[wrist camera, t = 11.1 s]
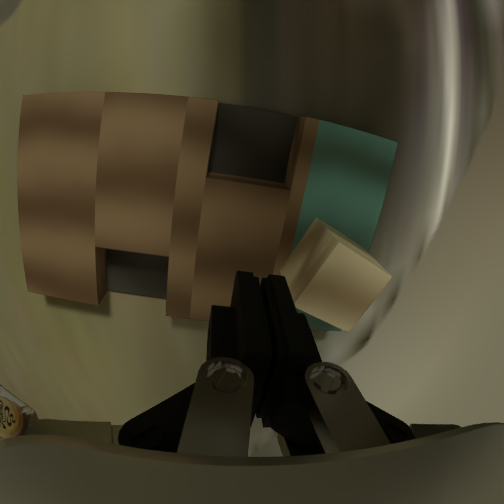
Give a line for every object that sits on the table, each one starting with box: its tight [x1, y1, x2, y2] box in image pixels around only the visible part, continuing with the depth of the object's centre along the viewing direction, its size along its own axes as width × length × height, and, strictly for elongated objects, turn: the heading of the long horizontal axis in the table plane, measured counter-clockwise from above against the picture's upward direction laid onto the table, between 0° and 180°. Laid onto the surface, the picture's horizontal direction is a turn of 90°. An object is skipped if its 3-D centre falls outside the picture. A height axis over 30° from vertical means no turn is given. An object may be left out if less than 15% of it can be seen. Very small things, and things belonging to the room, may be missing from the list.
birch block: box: [279, 217, 392, 332], centre depth 22 cm, size 5×5×5 cm
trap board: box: [18, 92, 398, 331], centre depth 24 cm, size 17×29×3 cm, turn 80°
